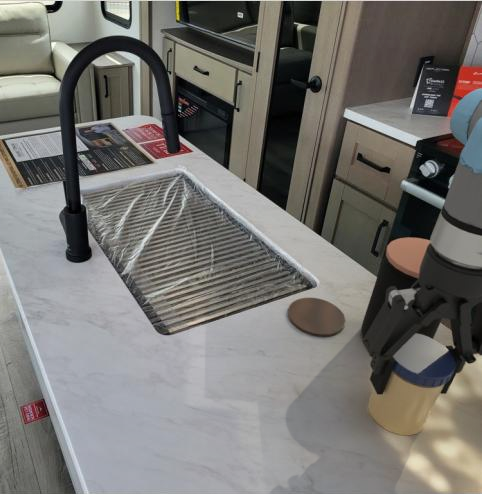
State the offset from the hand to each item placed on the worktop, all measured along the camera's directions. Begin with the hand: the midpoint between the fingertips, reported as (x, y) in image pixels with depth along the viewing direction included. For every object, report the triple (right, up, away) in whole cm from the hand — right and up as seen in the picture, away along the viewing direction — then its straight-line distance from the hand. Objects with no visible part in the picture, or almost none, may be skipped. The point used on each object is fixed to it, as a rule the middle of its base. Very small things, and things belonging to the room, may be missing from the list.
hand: (407, 386), depth 67 cm
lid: (0, +5, -3) cm, 6 cm away
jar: (0, -5, +3) cm, 6 cm away
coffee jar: (+6, +3, +15) cm, 17 cm away
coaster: (-6, +7, +21) cm, 22 cm away
